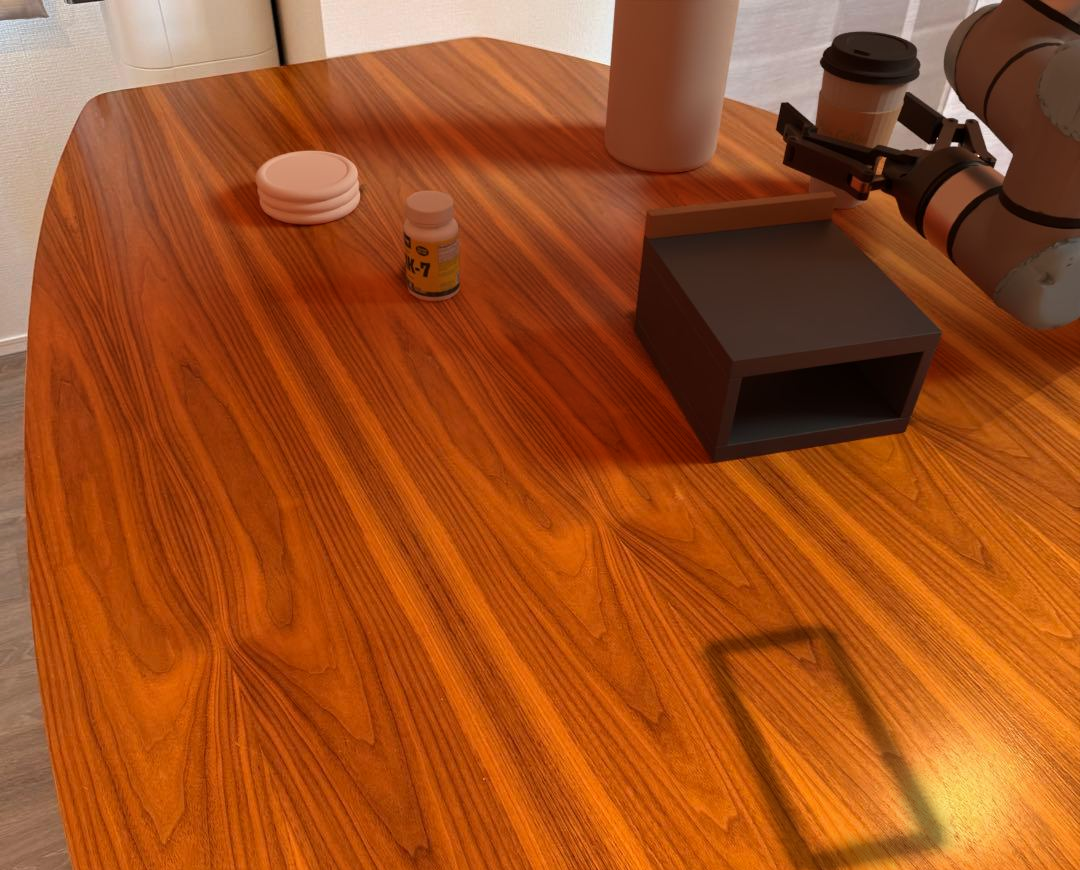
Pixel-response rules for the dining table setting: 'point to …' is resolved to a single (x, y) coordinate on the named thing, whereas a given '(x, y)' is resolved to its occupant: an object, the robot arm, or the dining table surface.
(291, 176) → the coaster
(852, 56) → the coffee cup
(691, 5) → the cylinder vase
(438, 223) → the supplement bottle
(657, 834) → the dining table surface
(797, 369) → the dark brown hollow box
